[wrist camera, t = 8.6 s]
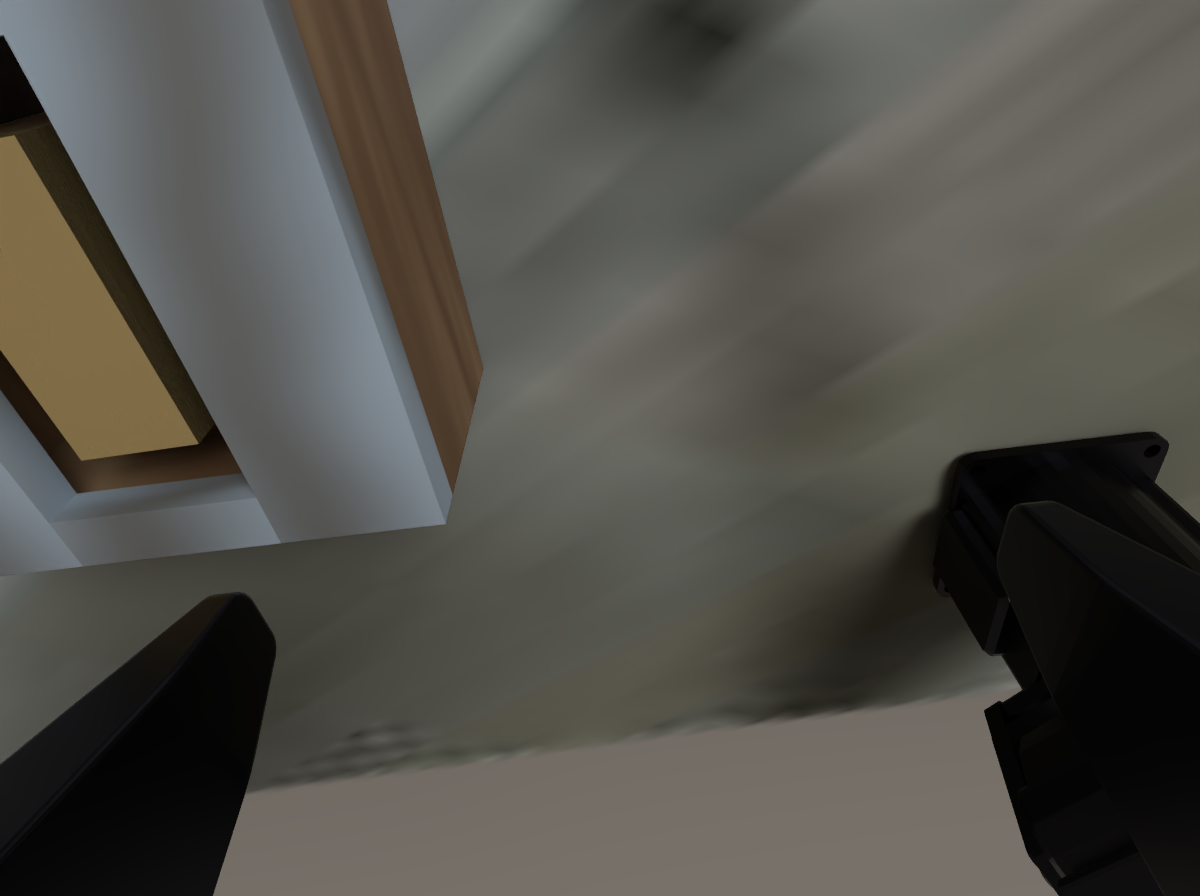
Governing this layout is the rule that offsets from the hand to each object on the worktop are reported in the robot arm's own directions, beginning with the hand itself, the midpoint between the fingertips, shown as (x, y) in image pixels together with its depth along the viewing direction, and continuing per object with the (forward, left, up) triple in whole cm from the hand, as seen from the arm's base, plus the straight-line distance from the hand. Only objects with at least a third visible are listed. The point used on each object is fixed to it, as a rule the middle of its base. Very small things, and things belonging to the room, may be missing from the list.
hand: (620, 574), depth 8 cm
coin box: (+10, -2, -12) cm, 16 cm away
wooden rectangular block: (+10, -2, -13) cm, 16 cm away
